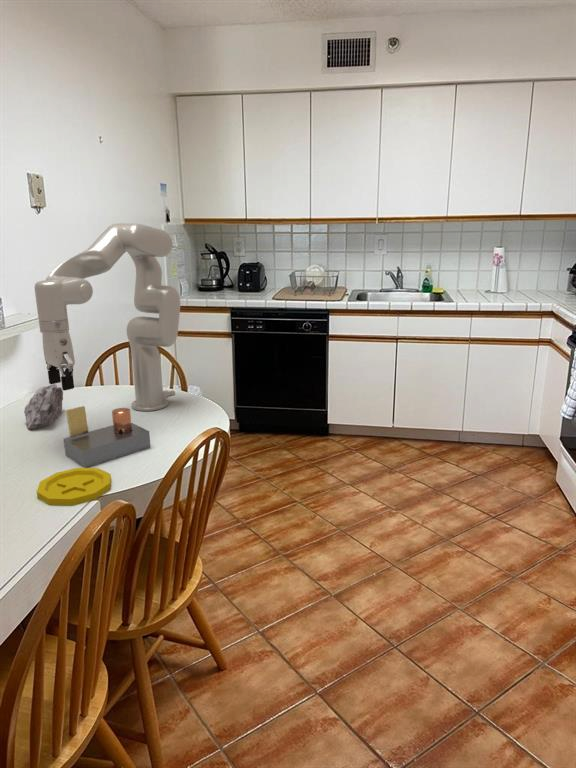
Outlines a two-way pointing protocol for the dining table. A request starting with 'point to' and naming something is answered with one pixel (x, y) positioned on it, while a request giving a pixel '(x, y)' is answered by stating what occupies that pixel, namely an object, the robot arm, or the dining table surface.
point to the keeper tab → (77, 421)
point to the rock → (44, 406)
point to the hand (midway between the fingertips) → (61, 385)
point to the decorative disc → (74, 486)
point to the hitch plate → (105, 445)
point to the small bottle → (121, 420)
